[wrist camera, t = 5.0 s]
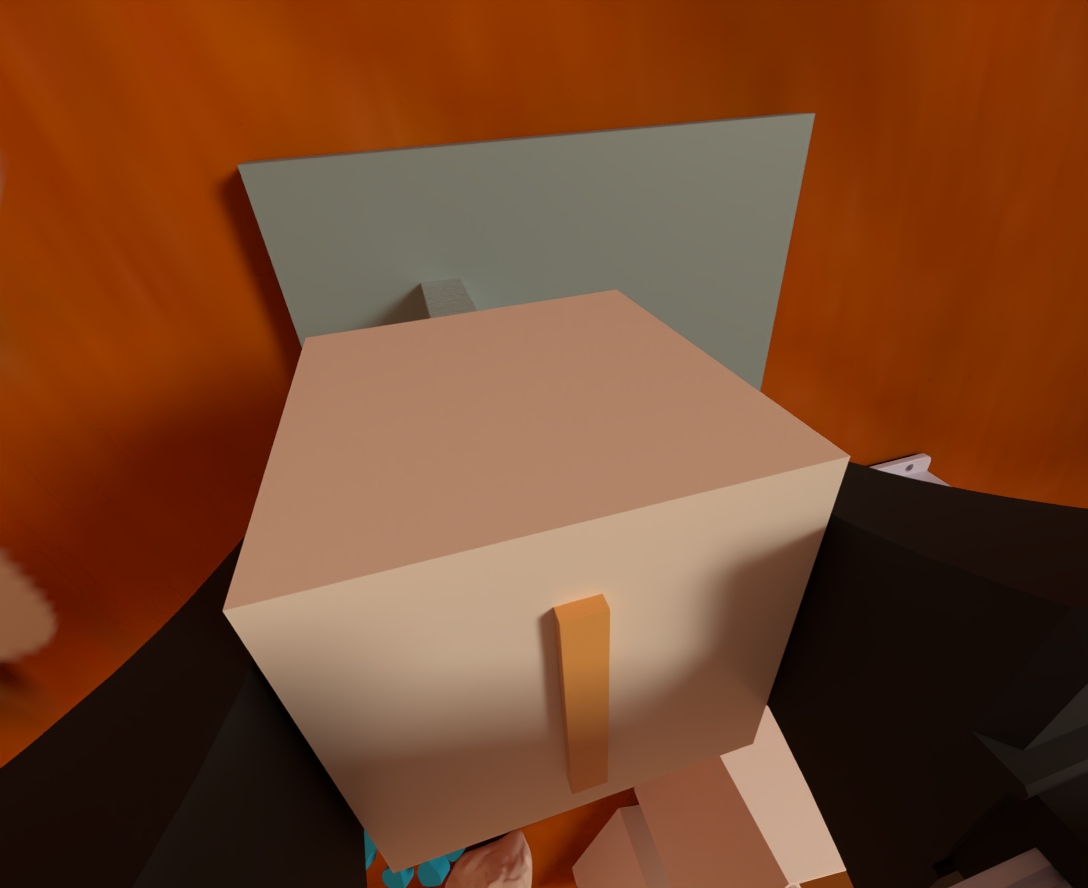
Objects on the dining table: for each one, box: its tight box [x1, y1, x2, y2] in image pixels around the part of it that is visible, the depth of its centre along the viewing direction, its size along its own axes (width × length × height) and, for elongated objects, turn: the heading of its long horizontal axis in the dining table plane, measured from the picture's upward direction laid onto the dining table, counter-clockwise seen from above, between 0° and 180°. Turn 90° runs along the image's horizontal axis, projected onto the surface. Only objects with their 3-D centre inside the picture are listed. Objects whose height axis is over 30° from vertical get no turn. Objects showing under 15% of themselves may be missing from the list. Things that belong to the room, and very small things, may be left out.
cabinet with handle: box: [223, 290, 850, 873], centre depth 8 cm, size 6×6×6 cm
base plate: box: [237, 113, 815, 391], centre depth 20 cm, size 17×20×1 cm
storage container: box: [572, 706, 846, 888], centre depth 42 cm, size 25×11×11 cm, turn 159°
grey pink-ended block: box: [421, 277, 477, 319], centre depth 15 cm, size 1×3×4 cm, turn 4°
